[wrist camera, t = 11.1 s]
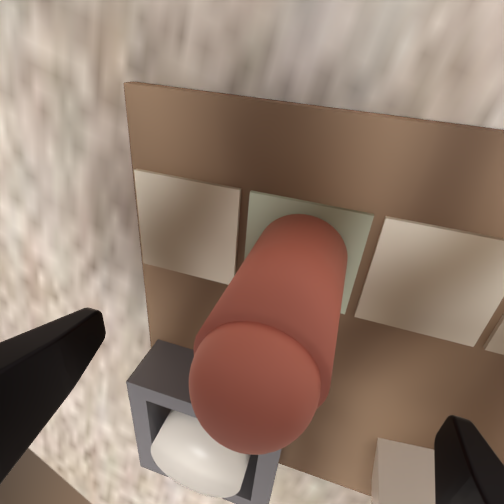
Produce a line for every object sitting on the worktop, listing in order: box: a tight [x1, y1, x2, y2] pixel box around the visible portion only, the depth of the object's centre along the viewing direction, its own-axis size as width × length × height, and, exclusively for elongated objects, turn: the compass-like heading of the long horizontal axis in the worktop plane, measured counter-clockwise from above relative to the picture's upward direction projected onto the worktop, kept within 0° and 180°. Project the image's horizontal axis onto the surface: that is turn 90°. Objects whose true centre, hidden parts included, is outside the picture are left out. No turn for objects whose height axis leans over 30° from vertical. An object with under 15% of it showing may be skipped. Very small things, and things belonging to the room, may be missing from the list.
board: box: [124, 82, 504, 496], centre depth 16 cm, size 21×21×1 cm
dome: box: [151, 409, 250, 498], centre depth 19 cm, size 5×5×3 cm
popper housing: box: [126, 339, 281, 504], centre depth 19 cm, size 8×8×3 cm
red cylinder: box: [189, 214, 348, 455], centre depth 10 cm, size 4×4×8 cm
